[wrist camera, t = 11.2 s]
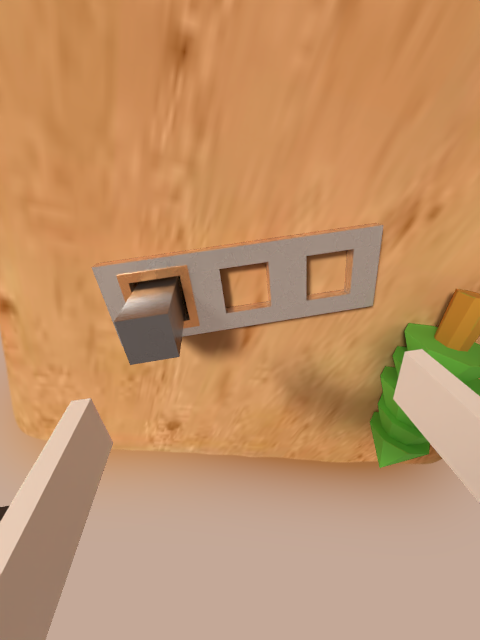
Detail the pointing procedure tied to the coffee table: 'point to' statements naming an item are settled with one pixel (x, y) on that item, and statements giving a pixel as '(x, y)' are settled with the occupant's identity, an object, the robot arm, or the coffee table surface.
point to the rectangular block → (152, 321)
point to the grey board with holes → (278, 253)
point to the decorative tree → (447, 349)
